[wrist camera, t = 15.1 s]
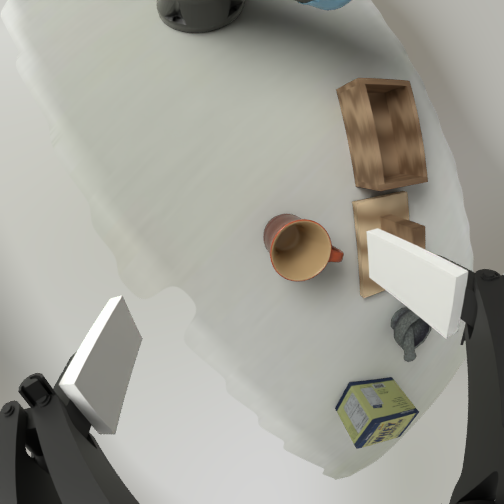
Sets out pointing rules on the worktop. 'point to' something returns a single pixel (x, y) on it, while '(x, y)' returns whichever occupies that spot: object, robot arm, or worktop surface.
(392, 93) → the box
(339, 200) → the worktop surface
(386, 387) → the protein box
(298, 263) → the mug
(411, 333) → the mortar and pestle
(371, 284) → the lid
